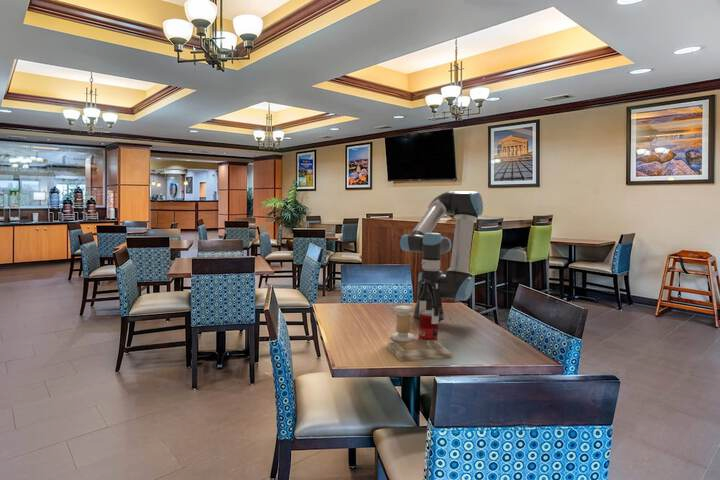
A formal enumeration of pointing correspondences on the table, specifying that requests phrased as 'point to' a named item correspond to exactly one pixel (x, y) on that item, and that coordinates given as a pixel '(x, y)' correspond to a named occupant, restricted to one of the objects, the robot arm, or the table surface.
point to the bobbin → (403, 324)
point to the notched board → (420, 352)
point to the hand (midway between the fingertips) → (428, 319)
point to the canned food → (427, 326)
